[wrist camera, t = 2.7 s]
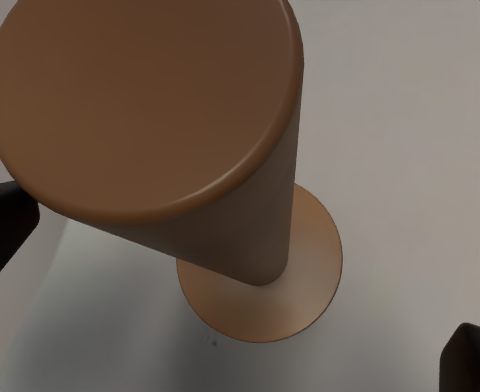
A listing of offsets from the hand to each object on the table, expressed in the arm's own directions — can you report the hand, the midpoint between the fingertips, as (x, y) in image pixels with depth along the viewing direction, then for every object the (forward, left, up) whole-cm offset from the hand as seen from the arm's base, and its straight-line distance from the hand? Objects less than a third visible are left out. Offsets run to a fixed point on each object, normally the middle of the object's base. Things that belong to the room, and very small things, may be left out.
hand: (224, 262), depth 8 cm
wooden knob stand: (+1, 0, -9) cm, 9 cm away
